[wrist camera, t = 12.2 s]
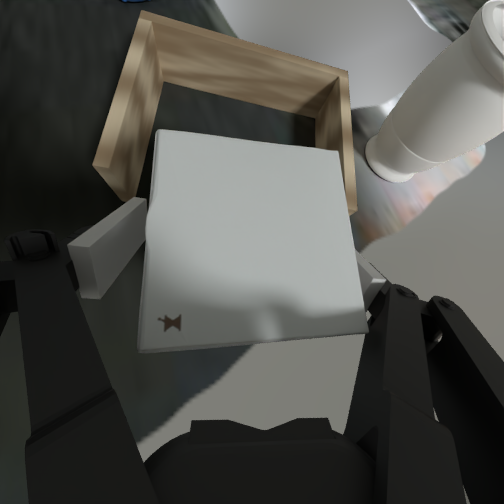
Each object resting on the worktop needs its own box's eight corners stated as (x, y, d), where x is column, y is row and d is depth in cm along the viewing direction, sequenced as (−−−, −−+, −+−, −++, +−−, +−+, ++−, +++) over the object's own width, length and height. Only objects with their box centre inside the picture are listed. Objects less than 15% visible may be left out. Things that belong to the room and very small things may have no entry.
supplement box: (270, 320, 22) (379, 343, 8) (182, 324, 21) (125, 364, 6) (266, 239, 25) (345, 146, 10) (186, 236, 23) (150, 120, 9)
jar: (410, 135, 34) (555, 12, 20) (425, 192, 32) (603, 99, 17) (352, 126, 32) (468, -18, 18) (363, 187, 29) (509, 76, 15)
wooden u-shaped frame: (325, 231, 26) (357, 210, 21) (122, 201, 22) (92, 165, 17) (322, 113, 31) (347, 71, 26) (155, 71, 27) (141, 10, 22)
